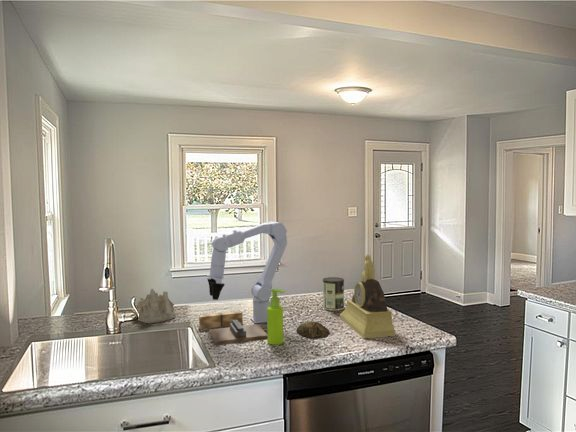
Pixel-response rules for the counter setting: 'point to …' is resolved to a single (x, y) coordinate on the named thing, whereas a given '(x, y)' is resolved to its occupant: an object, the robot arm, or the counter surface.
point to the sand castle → (155, 308)
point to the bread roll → (312, 330)
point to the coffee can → (333, 293)
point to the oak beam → (219, 319)
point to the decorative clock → (368, 307)
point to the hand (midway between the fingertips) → (213, 297)
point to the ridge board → (231, 338)
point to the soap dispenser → (275, 319)
